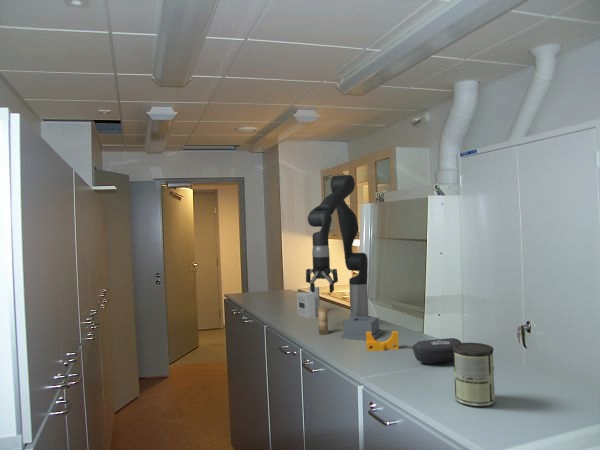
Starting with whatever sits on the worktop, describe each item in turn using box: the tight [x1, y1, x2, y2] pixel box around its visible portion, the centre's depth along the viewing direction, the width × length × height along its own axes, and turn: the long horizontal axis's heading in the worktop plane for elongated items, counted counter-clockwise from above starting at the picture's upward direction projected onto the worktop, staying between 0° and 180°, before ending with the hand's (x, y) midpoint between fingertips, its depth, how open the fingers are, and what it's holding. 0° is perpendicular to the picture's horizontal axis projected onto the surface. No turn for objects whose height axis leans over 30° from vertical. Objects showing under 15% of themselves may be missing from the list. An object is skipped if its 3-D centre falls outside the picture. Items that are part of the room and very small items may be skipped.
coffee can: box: [453, 342, 496, 407], centre depth 130 cm, size 10×10×14 cm
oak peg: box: [318, 305, 329, 336], centre depth 214 cm, size 4×4×12 cm
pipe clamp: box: [365, 330, 400, 352], centre depth 185 cm, size 12×4×6 cm, turn 85°
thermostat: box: [296, 286, 321, 319], centre depth 260 cm, size 12×14×15 cm
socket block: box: [340, 316, 383, 341], centre depth 209 cm, size 15×14×7 cm
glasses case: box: [411, 337, 462, 365], centre depth 166 cm, size 18×10×8 cm, turn 103°
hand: (322, 292), depth 214 cm, fingers open, 8 cm apart
